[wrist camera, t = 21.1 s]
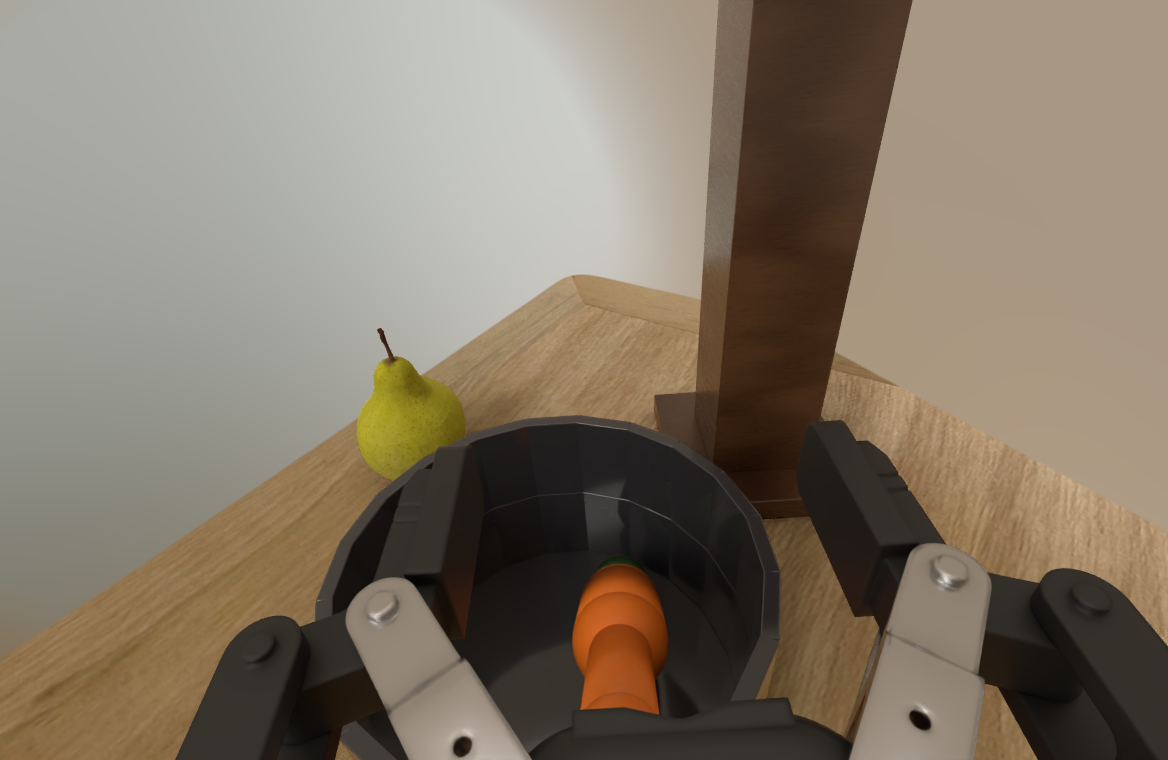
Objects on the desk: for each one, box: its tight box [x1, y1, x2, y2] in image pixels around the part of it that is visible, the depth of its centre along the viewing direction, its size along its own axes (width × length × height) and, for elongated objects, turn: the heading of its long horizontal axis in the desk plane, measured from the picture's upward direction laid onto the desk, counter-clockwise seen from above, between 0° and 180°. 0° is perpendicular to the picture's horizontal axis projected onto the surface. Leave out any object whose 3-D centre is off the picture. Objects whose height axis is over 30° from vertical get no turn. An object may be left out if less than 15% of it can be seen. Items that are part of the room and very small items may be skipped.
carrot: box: [572, 555, 669, 714], centre depth 22 cm, size 4×16×4 cm
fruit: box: [357, 328, 465, 481], centre depth 36 cm, size 7×7×12 cm
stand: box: [654, 0, 912, 518], centre depth 29 cm, size 11×11×33 cm
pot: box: [315, 415, 781, 760], centre depth 24 cm, size 16×16×10 cm
